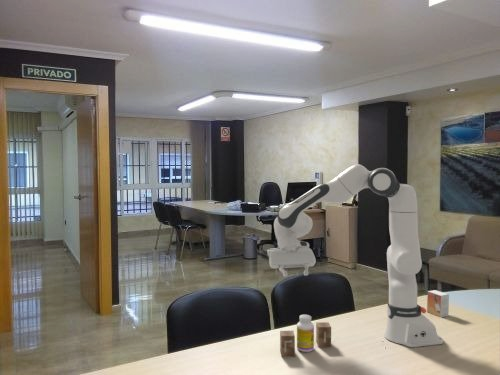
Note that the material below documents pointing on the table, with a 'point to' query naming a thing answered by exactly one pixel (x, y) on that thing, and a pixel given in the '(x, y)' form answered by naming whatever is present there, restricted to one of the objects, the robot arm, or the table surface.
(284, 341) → the walnut block seven
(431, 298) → the small box
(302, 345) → the supplement bottle
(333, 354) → the table surface
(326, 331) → the walnut block one
